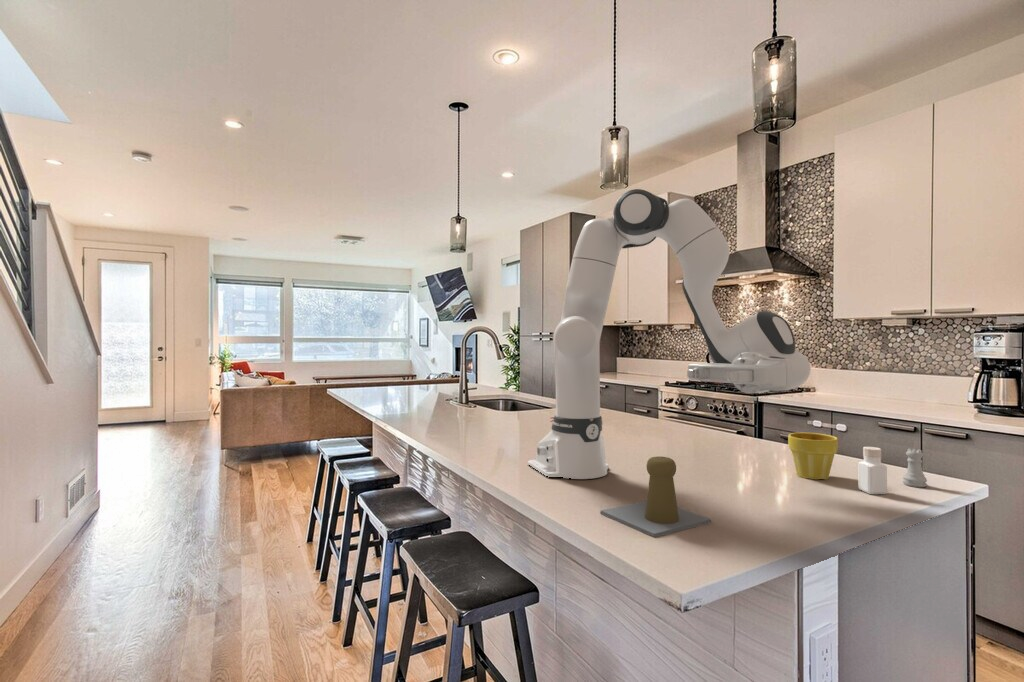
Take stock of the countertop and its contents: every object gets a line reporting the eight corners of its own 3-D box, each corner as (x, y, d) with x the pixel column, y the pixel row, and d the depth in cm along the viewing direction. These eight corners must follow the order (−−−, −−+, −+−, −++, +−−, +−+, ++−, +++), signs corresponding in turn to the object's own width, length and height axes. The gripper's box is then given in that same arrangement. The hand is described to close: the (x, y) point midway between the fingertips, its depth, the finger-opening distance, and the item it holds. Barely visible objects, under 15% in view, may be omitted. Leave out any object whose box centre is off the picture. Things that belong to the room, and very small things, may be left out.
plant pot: (838, 484, 117) (838, 441, 117) (786, 478, 122) (786, 437, 122) (838, 474, 126) (837, 434, 126) (790, 469, 131) (789, 430, 131)
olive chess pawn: (639, 513, 96) (638, 454, 96) (670, 511, 97) (669, 453, 97) (652, 524, 90) (652, 462, 90) (685, 522, 91) (684, 460, 91)
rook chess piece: (900, 485, 116) (900, 449, 116) (905, 481, 119) (904, 446, 119) (925, 489, 113) (925, 452, 113) (929, 485, 116) (929, 449, 116)
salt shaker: (888, 494, 109) (888, 449, 109) (869, 495, 109) (869, 450, 109) (875, 489, 113) (874, 446, 113) (857, 489, 113) (856, 446, 113)
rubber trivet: (600, 513, 98) (600, 510, 98) (654, 501, 105) (654, 498, 105) (654, 537, 86) (654, 533, 86) (711, 522, 93) (711, 519, 93)
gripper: (712, 356, 119) (669, 358, 112) (798, 358, 101) (753, 360, 94) (712, 384, 119) (669, 387, 112) (798, 390, 101) (753, 394, 94)
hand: (708, 374), depth 103 cm, fingers open, 8 cm apart
